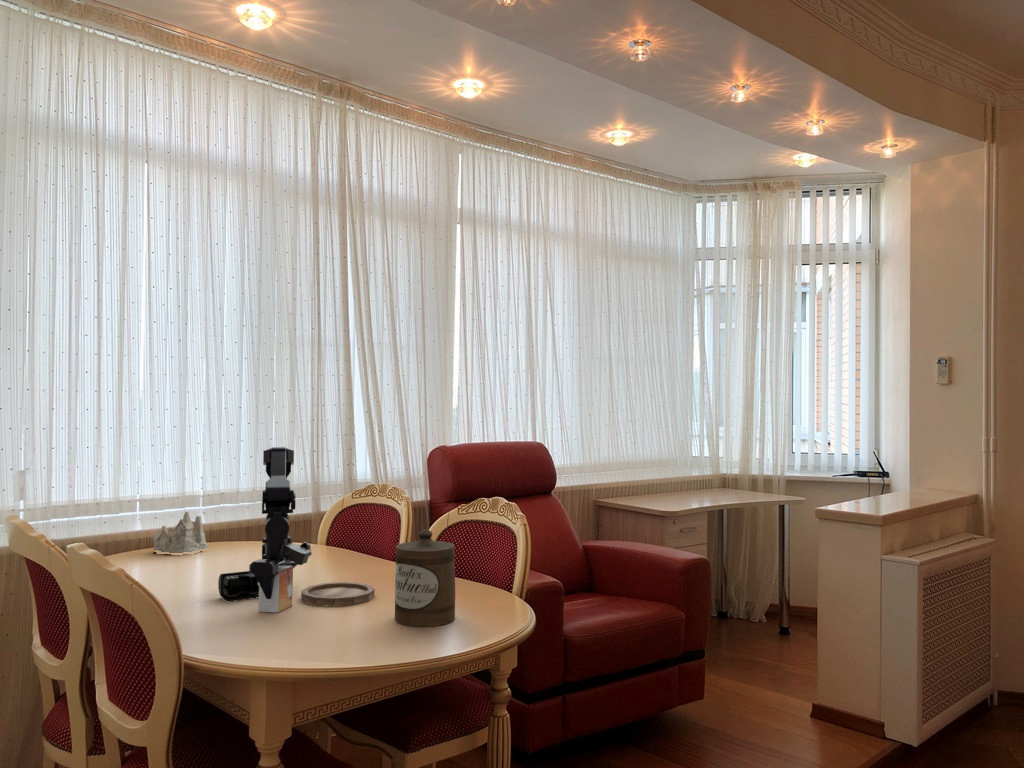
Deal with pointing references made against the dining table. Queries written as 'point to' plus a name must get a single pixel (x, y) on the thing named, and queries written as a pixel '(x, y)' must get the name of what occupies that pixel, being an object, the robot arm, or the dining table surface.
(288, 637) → the dining table surface
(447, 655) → the dining table surface
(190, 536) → the miniature castle
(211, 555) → the dining table surface
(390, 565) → the dining table surface
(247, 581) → the end cap
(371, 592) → the round tray
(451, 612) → the wooden container
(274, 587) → the small box
